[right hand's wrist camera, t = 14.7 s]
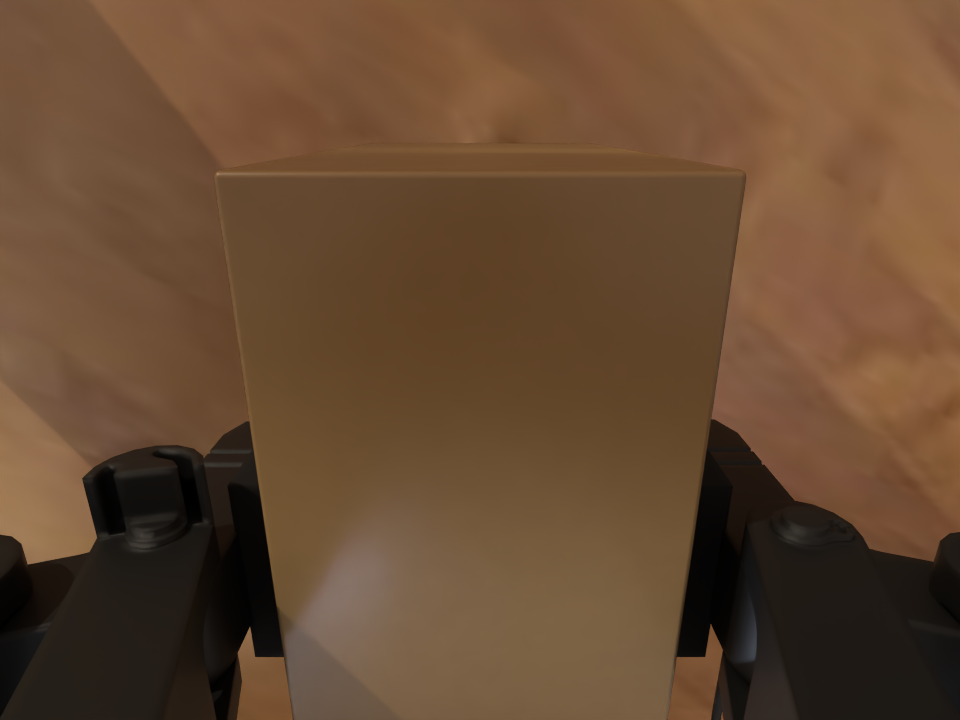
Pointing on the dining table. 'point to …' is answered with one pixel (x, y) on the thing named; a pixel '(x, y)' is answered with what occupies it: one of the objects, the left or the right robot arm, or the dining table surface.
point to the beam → (480, 418)
